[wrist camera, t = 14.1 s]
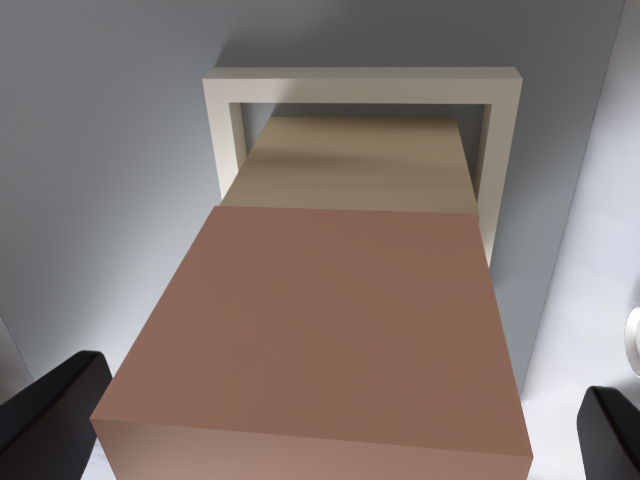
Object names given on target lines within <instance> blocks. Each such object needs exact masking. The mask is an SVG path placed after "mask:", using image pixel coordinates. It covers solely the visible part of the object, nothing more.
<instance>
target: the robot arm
mask: <svg viewBox="0 0 640 480" xmlns="http://www.w3.org/2000/svg"><path fill="white" fill-rule="evenodd" d="M112 379H113V376H112V374H111V371H110V369H109V366H108V363H107V361H106V358H105V356H104V354H103V353H102V352H100V351H91V350H82V351H79V352H77V353H75V354H74V355H73V356H71V357H70V358H68V359H67V360H65V361H64V362H62V363H61V364H59V365H58V366H57V367H55V368H54V369H52V370H51V371H49V372H48V373H46V374H45V375H43V376H42V377H41V378H39V379H38V380H36V381H35V382H33V383H32V384H30V385H29V386H28V387H26V388H25V389H23V390H22V391H20V392H19V393H17V394H16V395H14V396H13V397H12V398H10V399H9V400H7V401H6V402H4V403H3V404H1V405H0V480H80V479H81V477H82V475H83V473H84V470H85V468H86V466H87V463H88V461H89V458H90V455H91V453H92V450H93V447H94V444H95V441H96V438H97V434H96V432H95V430H94V428H93V425H92V423H91V421H90V419H89V418H90V417H91V415H92V413H93V411H94V410H95V408H96V406H97V405H98V403H99V401H100V400H101V398H102V396H103V394H104V393H105V391H106V389H107V388H108V386H109V384H110V383H111V381H112ZM577 431H578V437H579V442H580V448H581V453H582V459H583V464H584V470H585V475H586V480H640V411H639V410H638V409H637V408H636V407H635V406H634V405H633V404H632V403H631V402H630V401H629V400H628V399H627V398H626V397H625V396H624V395H623V394H622V393H621V392H620V391H618V390H617V389H615V388H613V387H604V386H590V387H589V388H588V389H587V391H586V393H585V396H584V399H583V402H582V404H581V407H580V410H579V412H578V415H577Z"/></svg>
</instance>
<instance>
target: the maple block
mask: <svg viewBox="0 0 640 480" xmlns="http://www.w3.org/2000/svg"><path fill="white" fill-rule="evenodd" d="M219 206H239V207H271V208H304V209H337V210H369V211H402V212H434V213H467V214H476V216H477V220H478V224H479V218H480V215H479V211H478V207H477V203H476V199H475V195H474V190H473V186H472V182H471V178H470V174H469V170H468V166H467V162H466V158H465V154H464V150H463V146H462V142H461V138H460V134H459V130H458V126H457V122H456V118H376V117H281V116H270V118H269V120H268V121H267V123H266V125H265V127H264V128H263V130H262V132H261V134H260V135H259V137H258V139H257V141H256V142H255V144H254V146H253V148H252V149H251V151H250V153H249V155H248V156H247V158H246V160H245V162H244V163H243V165H242V167H241V169H240V170H239V172H238V174H237V176H236V177H235V179H234V181H233V183H232V184H231V186H230V188H229V190H228V191H227V193H226V195H225V196H224V198H223V200H222V202H221V203H220V205H219Z"/></svg>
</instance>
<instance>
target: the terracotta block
mask: <svg viewBox="0 0 640 480" xmlns="http://www.w3.org/2000/svg"><path fill="white" fill-rule="evenodd" d="M89 419H90V421H91V423H92V425H93V428H94V430H95V432H96V434H97V437H98V439H99V441H100V443H101V446H102V448H103V450H104V452H105V455H106V457H107V459H108V461H109V464H110V466H111V468H112V470H113V473H114V475H115V477H116V479H117V480H526V479H527V476H528V473H529V470H530V467H531V463H532V460H533V453H532V449H531V445H530V440H529V436H528V432H527V428H526V423H525V419H524V415H523V411H522V407H521V402H520V398H519V394H518V390H517V385H516V381H515V377H514V373H513V369H512V364H511V360H510V356H509V352H508V347H507V343H506V339H505V335H504V330H503V326H502V322H501V318H500V314H499V309H498V305H497V301H496V297H495V292H494V288H493V284H492V280H491V275H490V271H489V267H488V263H487V259H486V254H485V250H484V246H483V242H482V237H481V233H480V229H479V225H478V220H477V216H476V214H467V213H434V212H402V211H369V210H337V209H304V208H271V207H239V206H214V207H213V209H212V211H211V213H210V214H209V216H208V218H207V219H206V221H205V223H204V224H203V226H202V228H201V230H200V231H199V233H198V235H197V236H196V238H195V240H194V241H193V243H192V245H191V247H190V248H189V250H188V252H187V253H186V255H185V257H184V258H183V260H182V262H181V264H180V265H179V267H178V269H177V270H176V272H175V274H174V275H173V277H172V279H171V281H170V282H169V284H168V286H167V287H166V289H165V291H164V292H163V294H162V296H161V298H160V299H159V301H158V303H157V304H156V306H155V308H154V309H153V311H152V313H151V315H150V316H149V318H148V320H147V321H146V323H145V325H144V326H143V328H142V330H141V332H140V333H139V335H138V337H137V338H136V340H135V342H134V343H133V345H132V347H131V349H130V350H129V352H128V354H127V355H126V357H125V359H124V360H123V362H122V364H121V366H120V367H119V369H118V371H117V372H116V374H115V376H114V377H113V379H112V381H111V383H110V384H109V386H108V388H107V389H106V391H105V393H104V394H103V396H102V398H101V400H100V401H99V403H98V405H97V406H96V408H95V410H94V411H93V413H92V415H91V417H90V418H89Z"/></svg>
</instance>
